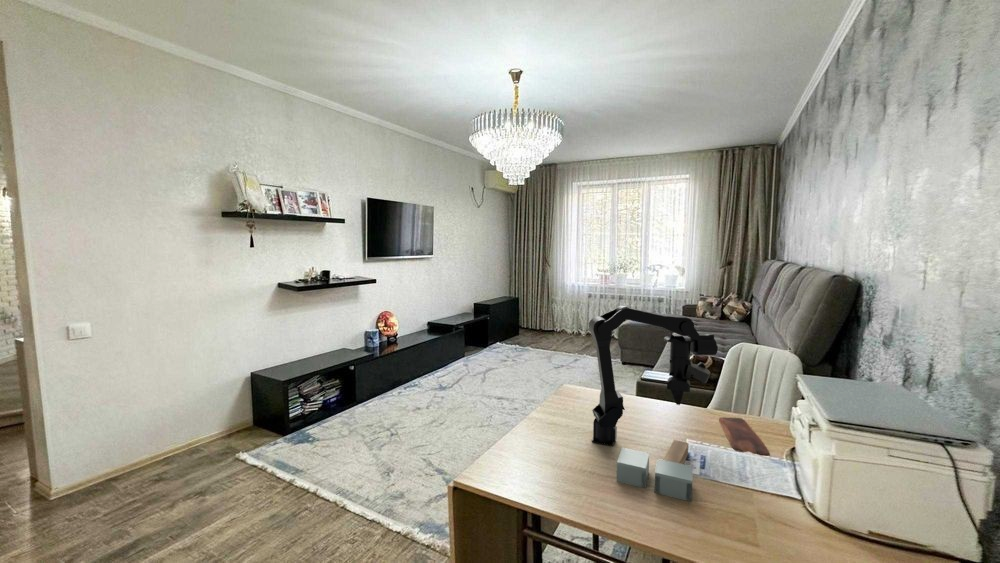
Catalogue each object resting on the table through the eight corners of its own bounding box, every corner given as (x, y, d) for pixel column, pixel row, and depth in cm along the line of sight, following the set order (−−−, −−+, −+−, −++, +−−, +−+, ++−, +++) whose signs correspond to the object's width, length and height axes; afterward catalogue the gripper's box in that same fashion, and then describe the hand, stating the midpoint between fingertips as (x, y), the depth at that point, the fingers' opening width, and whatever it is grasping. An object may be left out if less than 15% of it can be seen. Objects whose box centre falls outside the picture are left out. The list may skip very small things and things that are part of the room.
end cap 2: (654, 492, 100) (655, 472, 99) (656, 477, 106) (657, 458, 106) (691, 501, 96) (692, 480, 96) (691, 485, 103) (692, 466, 102)
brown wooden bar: (660, 475, 108) (661, 462, 108) (673, 450, 121) (674, 439, 121) (676, 480, 106) (676, 467, 106) (688, 454, 119) (688, 443, 119)
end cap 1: (645, 488, 102) (646, 468, 101) (616, 481, 105) (617, 462, 104) (648, 471, 109) (649, 453, 109) (621, 465, 112) (622, 447, 112)
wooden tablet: (715, 413, 145) (747, 413, 142) (716, 419, 146) (747, 419, 142) (732, 448, 120) (771, 449, 117) (733, 455, 120) (771, 457, 117)
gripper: (710, 366, 113) (708, 419, 114) (707, 351, 130) (705, 397, 131) (667, 362, 118) (666, 413, 119) (670, 347, 134) (669, 392, 136)
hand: (678, 403), depth 126 cm, fingers closed
